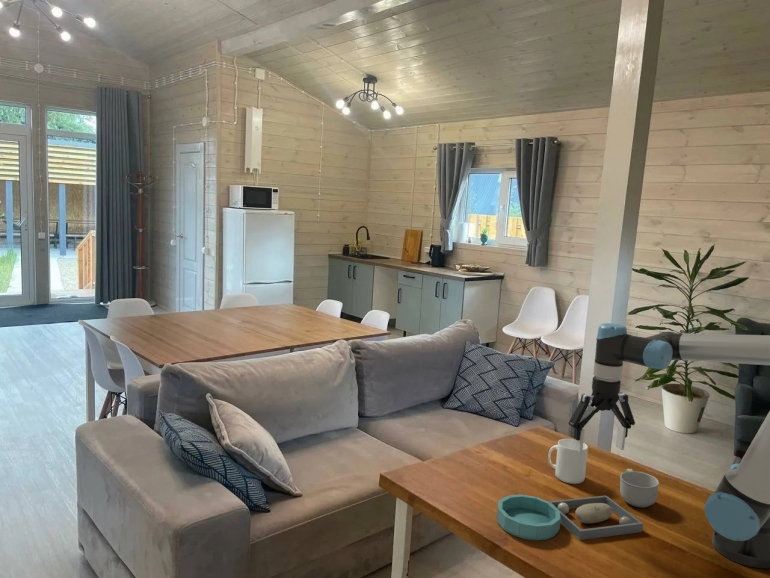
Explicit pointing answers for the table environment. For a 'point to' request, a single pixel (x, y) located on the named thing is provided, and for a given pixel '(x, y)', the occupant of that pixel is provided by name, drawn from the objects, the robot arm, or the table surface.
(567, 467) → the mug
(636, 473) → the teacup
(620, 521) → the pebble
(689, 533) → the table surface
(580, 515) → the stone
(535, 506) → the bowl
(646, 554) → the table surface
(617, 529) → the tray
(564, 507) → the white round ball
